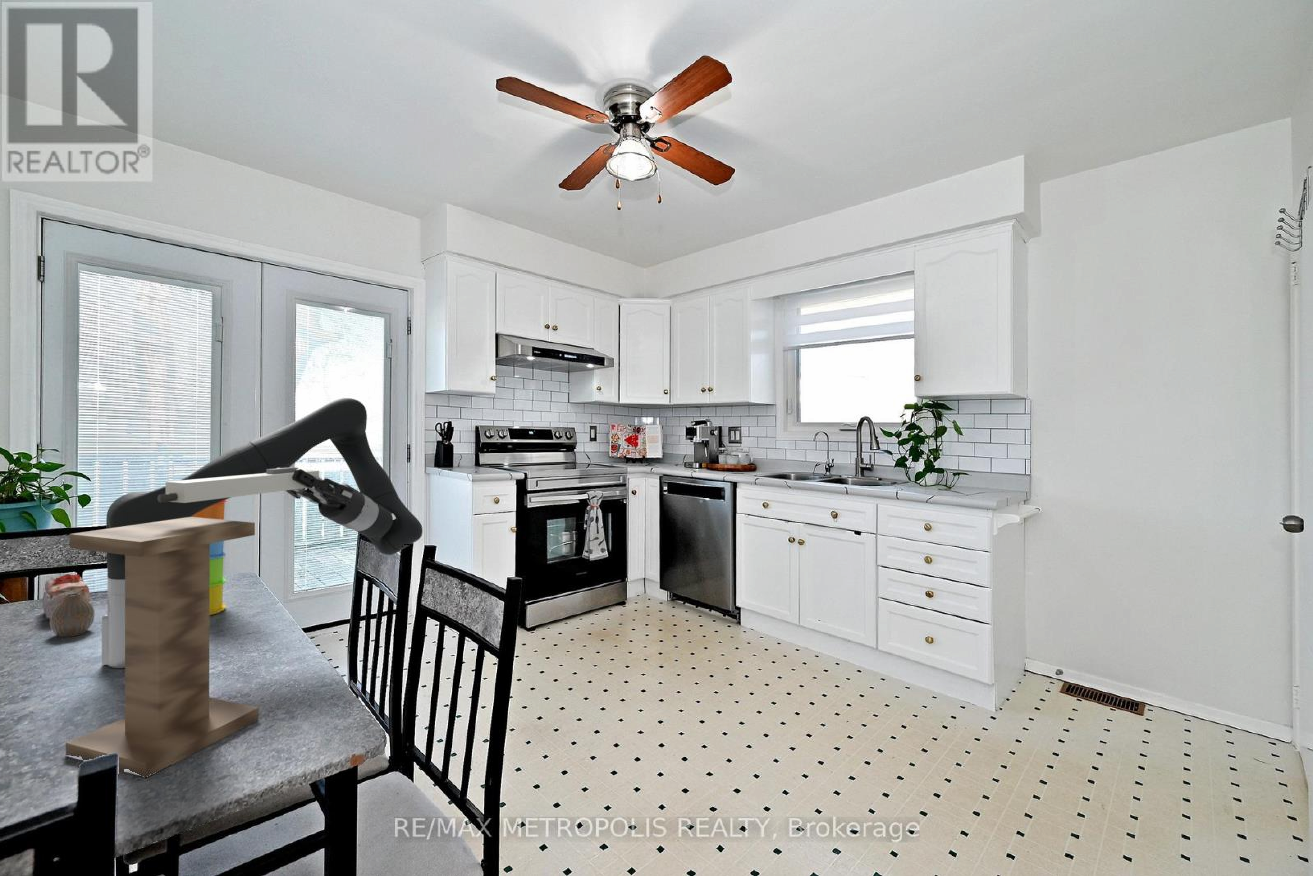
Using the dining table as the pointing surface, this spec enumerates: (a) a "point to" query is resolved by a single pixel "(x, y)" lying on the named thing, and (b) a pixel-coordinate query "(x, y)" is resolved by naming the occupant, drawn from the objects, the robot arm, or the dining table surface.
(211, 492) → the white long block
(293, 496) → the robot arm
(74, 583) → the food item
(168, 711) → the stand
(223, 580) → the stacking cups
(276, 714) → the dining table surface
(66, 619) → the vase
